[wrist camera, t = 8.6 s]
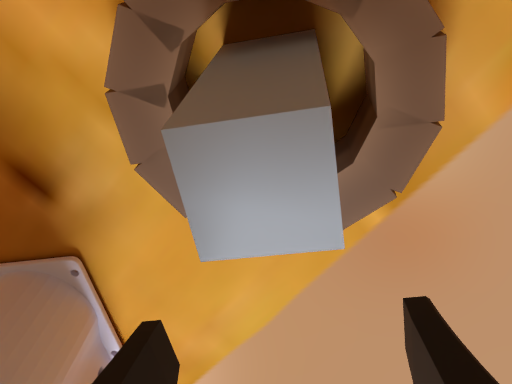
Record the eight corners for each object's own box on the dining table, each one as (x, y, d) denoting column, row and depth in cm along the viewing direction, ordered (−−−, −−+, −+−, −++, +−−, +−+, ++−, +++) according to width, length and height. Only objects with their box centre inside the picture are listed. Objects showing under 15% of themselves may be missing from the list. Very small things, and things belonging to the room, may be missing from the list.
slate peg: (324, 118, 20) (344, 248, 12) (240, 129, 21) (200, 261, 12) (314, 29, 18) (330, 105, 10) (223, 44, 19) (160, 130, 10)
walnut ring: (424, 191, 22) (441, 224, 19) (177, 219, 24) (163, 253, 21) (424, -123, 15) (451, -136, 13) (90, -46, 17) (54, -44, 15)
